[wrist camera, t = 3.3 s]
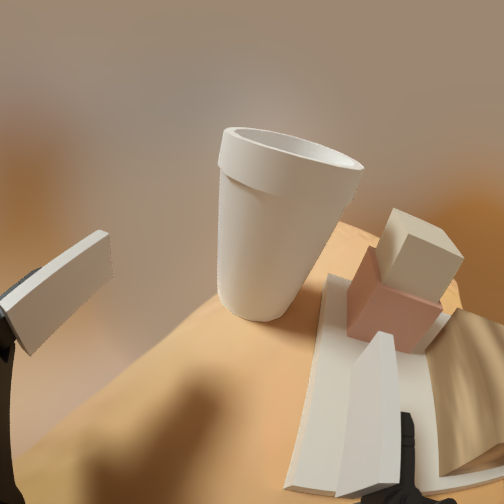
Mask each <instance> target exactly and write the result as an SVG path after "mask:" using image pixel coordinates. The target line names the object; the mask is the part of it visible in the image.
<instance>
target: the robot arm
mask: <svg viewBox="0 0 504 504" xmlns="http://www.w3.org/2000/svg"><path fill="white" fill-rule="evenodd" d="M112 278H113V270H112V261H111V250H110V236H109V233H107V232H104V231H102V230H97V231H96V232H94V233H92V234H91V235H90V236H88V237H86V238H85V239H83V240H82V241H80V242H78V243H77V244H75V245H74V246H72V247H71V248H70V249H68V250H67V251H65V252H64V253H63V254H61V255H59V256H58V257H56V258H55V259H54V260H52V261H51V262H49V264H47V265H45V266H44V267H43V268H42V267H41V268H38V269H36V270H33V271H31V272H30V273H29V274H27V275H26V276H25V277H24V278H22V279H21V280H20V281H18V283H16V284H15V285H13V286H12V287H11V288H9V289H8V290H7V291H6V292H5V293H3V294H2V295H1V296H0V504H25V501H24V498H23V496H22V494H21V492H20V491H19V490H18V488H17V487H16V485H15V481H14V474H13V467H12V458H11V446H10V415H9V414H10V391H11V378H12V367H13V360H14V353H15V343H14V341H15V340H16V339H17V341H18V343H19V344H20V346H21V348H22V349H23V350H24V351H25V352H26V353H27V354H28V355H29V356H31V355H32V354H33V353H34V352H35V351H36V350H37V349H38V348H39V347H40V346H41V345H42V344H43V343H44V342H45V341H46V340H47V339H48V338H49V337H50V336H51V335H52V334H53V333H54V332H55V331H56V330H57V329H58V328H59V327H60V326H61V325H62V324H63V323H64V322H65V321H66V320H67V319H68V318H69V317H70V316H71V315H72V314H74V313H75V312H76V311H77V310H78V309H79V308H80V307H81V306H82V305H83V304H84V303H85V302H86V301H88V299H90V298H91V297H92V296H93V295H94V294H95V293H96V292H97V291H99V290H100V289H101V288H102V287H103V286H104V285H105V284H106V283H107V282H109V281H110V280H111V279H112ZM414 437H415V427H414V422H413V419H412V417H411V414H410V413H408V412H401V411H400V395H399V381H398V371H397V361H396V353H395V345H394V338H393V335H392V334H388V333H385V332H382V331H378V332H377V334H376V335H375V336H374V338H373V339H372V341H371V342H370V343H369V345H368V346H367V347H366V349H365V350H364V351H363V353H362V354H361V355H360V357H359V358H358V359H357V360H356V362H355V363H354V364H353V366H352V367H351V369H350V387H349V401H348V412H347V422H346V431H345V440H344V447H343V454H342V461H341V467H340V473H339V479H338V484H337V489H336V494H335V498H346V499H354V498H358V497H361V496H362V497H361V502H358V503H354V504H457V503H456V501H455V500H454V499H451V498H447V499H445V500H442V501H435V500H432V499H429V498H426V497H423V496H422V493H421V492H420V490H419V489H418V488H416V487H415V448H414V446H415V439H414Z"/></svg>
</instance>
